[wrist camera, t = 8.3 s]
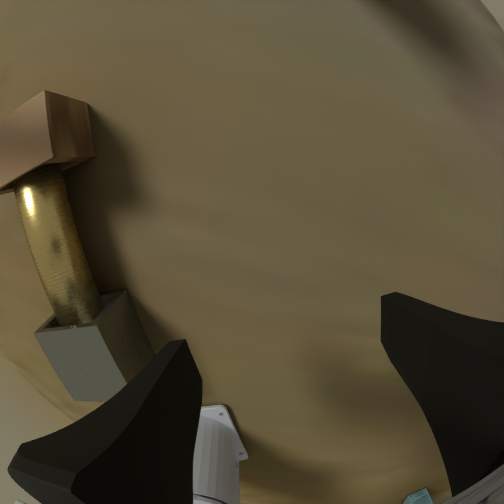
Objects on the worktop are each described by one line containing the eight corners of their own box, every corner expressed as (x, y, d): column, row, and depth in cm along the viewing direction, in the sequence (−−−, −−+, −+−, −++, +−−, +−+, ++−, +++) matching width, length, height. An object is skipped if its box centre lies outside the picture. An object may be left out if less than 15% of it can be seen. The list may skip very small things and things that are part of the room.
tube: (115, 307, 19) (94, 334, 15) (78, 313, 19) (55, 338, 15) (64, 128, 15) (32, 125, 11) (29, 148, 15) (-4, 149, 12)
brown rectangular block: (96, 156, 16) (53, 157, 12) (27, 188, 17) (-18, 199, 12) (87, 103, 15) (44, 90, 10) (19, 140, 15) (-25, 141, 11)
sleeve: (155, 356, 21) (137, 401, 16) (98, 361, 21) (74, 400, 16) (126, 288, 19) (96, 325, 14) (68, 300, 19) (33, 333, 14)
